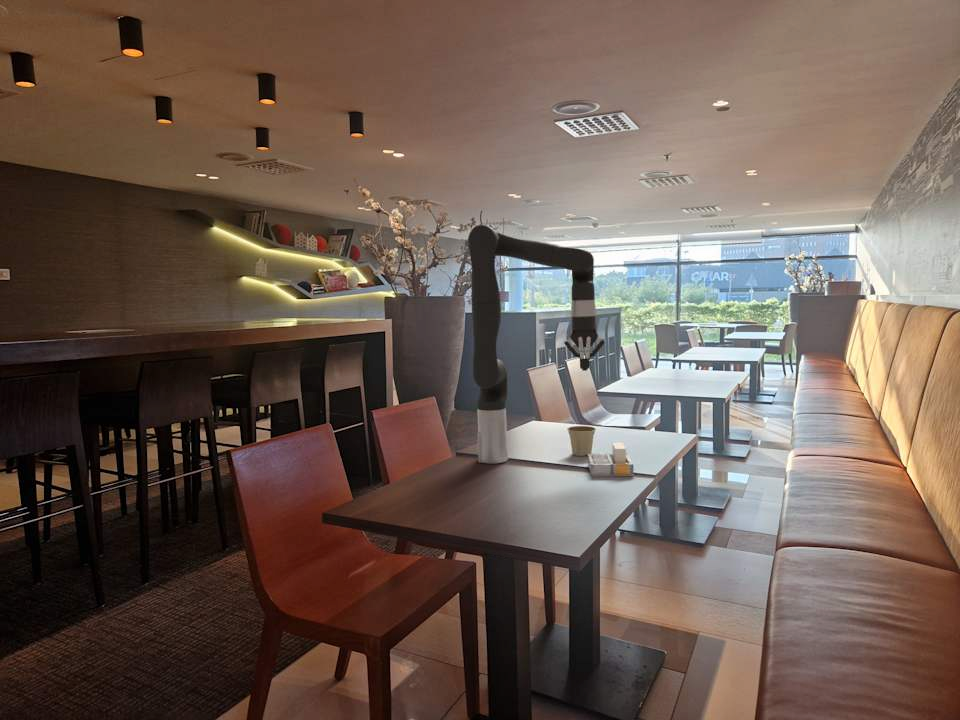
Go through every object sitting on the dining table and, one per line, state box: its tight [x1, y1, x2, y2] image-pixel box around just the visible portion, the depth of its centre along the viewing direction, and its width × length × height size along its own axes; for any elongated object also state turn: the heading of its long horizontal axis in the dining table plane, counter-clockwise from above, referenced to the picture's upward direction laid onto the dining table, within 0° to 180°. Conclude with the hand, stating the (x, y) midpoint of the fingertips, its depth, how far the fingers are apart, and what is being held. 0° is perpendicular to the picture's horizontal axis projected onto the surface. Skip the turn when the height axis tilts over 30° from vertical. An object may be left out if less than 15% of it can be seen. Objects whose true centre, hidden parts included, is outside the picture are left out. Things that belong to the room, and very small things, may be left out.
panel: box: [611, 442, 627, 464], centre depth 186 cm, size 3×8×7 cm, turn 174°
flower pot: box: [567, 425, 597, 457], centre depth 207 cm, size 9×9×9 cm
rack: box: [587, 452, 634, 478], centre depth 186 cm, size 12×13×4 cm
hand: (584, 370), depth 196 cm, fingers closed
